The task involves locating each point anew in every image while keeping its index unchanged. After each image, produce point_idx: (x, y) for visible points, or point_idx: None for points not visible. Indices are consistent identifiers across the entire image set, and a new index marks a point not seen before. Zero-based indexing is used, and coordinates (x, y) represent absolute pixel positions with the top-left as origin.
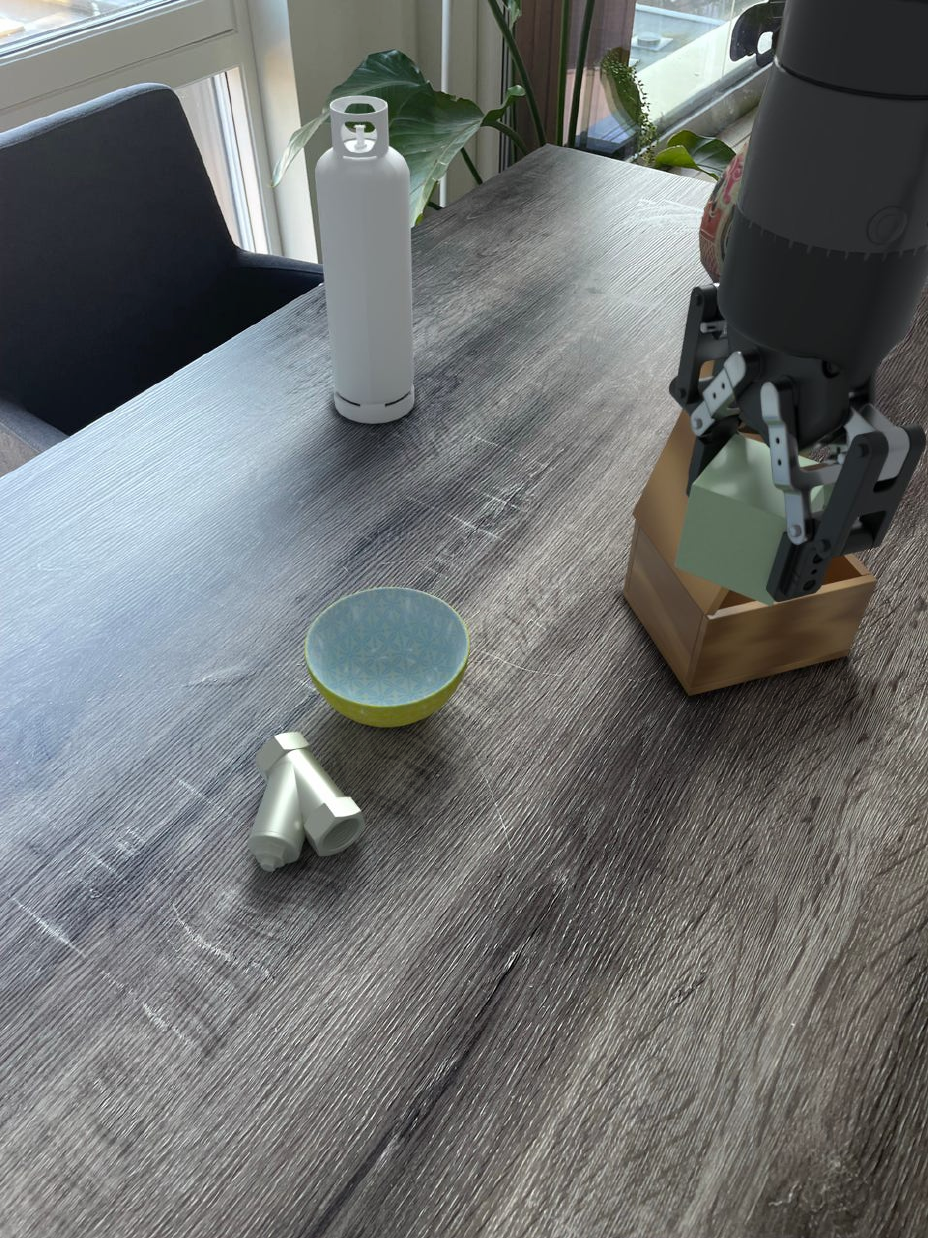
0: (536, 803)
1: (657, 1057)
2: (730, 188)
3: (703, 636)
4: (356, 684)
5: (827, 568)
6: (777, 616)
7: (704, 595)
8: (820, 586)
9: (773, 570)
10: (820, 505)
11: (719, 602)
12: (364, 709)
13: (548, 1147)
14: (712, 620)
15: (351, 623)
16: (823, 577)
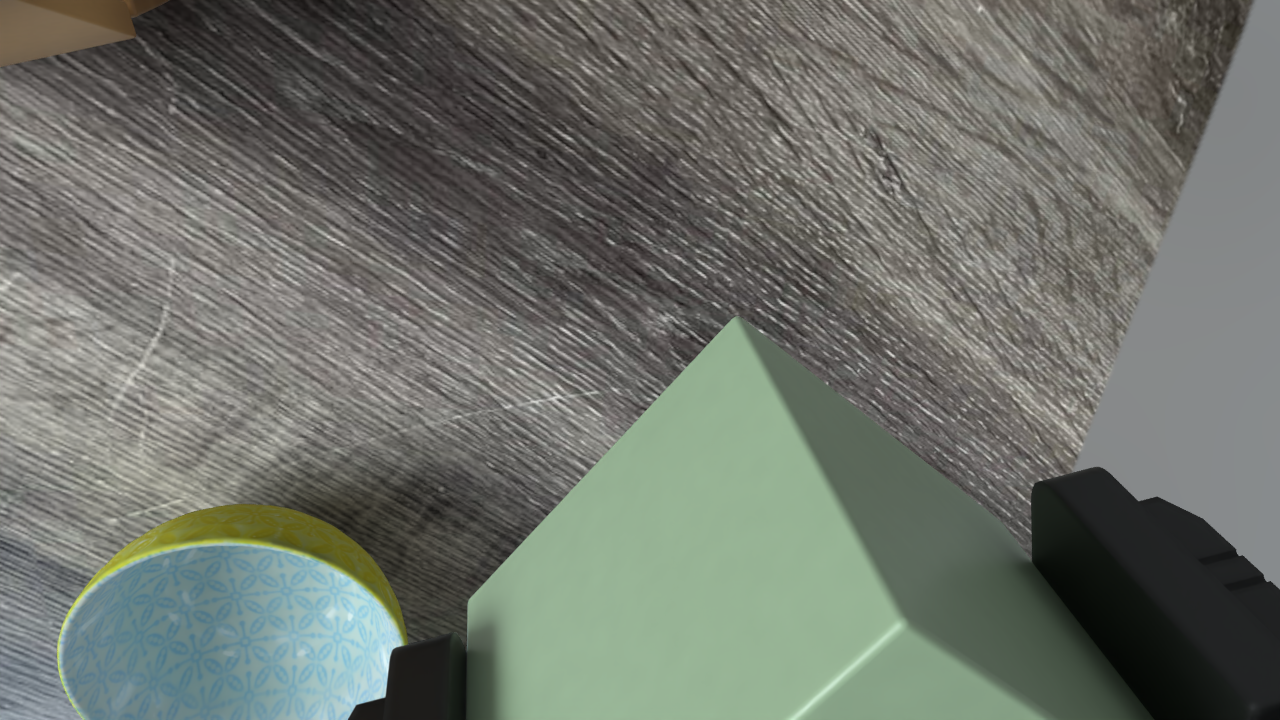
0: (510, 343)
1: (966, 232)
2: None
3: (155, 7)
4: (257, 629)
5: (1278, 589)
6: None
7: (74, 41)
8: (1210, 528)
9: None
10: (892, 525)
11: (107, 4)
12: None
13: (1026, 383)
14: (134, 2)
15: (143, 690)
16: (1246, 563)
